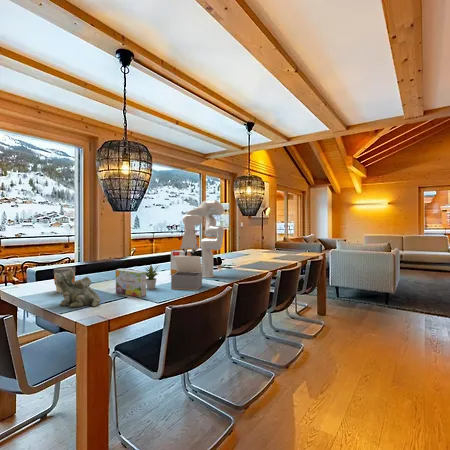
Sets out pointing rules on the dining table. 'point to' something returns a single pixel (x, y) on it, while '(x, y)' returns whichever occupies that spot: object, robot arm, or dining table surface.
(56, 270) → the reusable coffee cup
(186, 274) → the carton
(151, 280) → the house plant
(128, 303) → the dining table surface
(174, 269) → the hard drive box
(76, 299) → the sculpture
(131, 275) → the snack box
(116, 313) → the dining table surface
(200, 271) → the flap
